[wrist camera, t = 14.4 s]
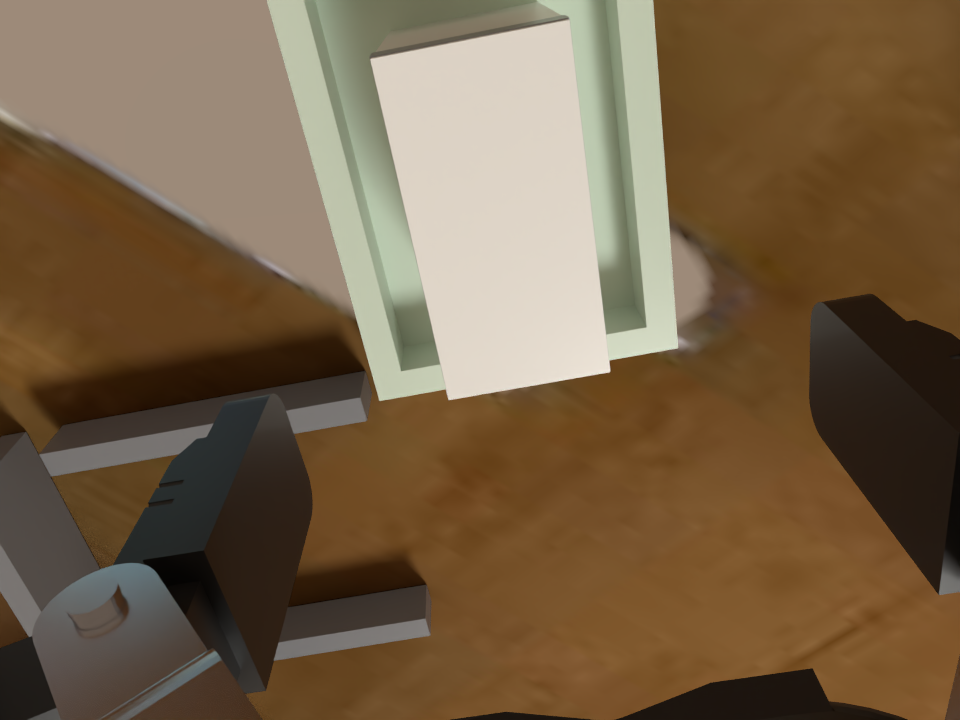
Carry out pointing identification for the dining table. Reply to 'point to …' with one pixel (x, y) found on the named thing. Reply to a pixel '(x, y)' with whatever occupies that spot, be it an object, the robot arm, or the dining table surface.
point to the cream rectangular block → (496, 195)
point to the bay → (158, 433)
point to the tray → (376, 194)
